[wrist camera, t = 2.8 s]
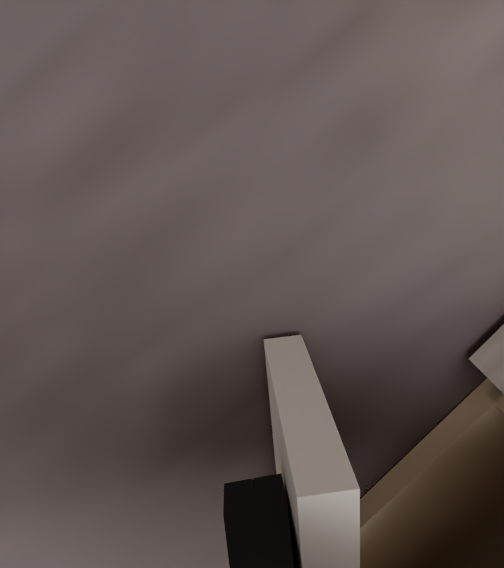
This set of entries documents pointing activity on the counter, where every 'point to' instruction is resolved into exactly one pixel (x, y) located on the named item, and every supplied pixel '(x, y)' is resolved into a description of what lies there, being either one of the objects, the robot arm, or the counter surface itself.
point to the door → (311, 460)
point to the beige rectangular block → (446, 486)
